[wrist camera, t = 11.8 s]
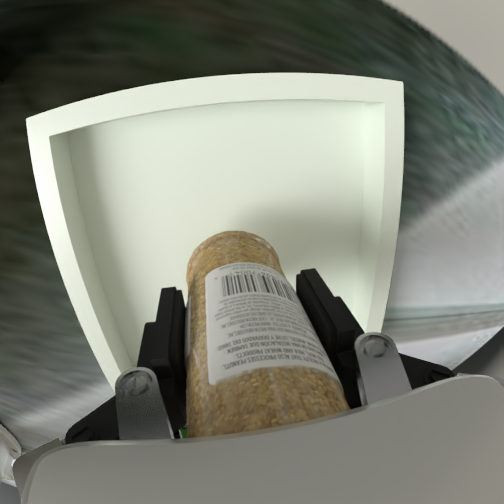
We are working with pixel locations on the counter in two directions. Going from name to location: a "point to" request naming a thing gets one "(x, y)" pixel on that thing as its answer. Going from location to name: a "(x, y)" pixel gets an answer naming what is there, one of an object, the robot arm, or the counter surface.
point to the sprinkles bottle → (250, 343)
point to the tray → (219, 190)
